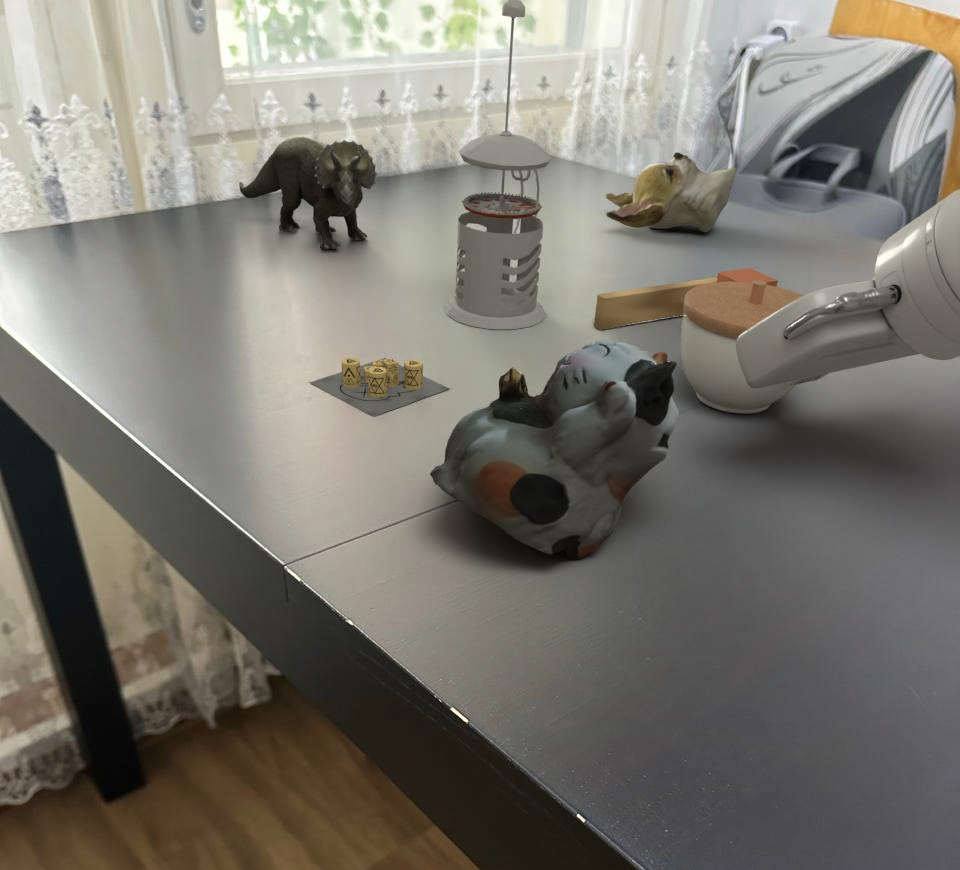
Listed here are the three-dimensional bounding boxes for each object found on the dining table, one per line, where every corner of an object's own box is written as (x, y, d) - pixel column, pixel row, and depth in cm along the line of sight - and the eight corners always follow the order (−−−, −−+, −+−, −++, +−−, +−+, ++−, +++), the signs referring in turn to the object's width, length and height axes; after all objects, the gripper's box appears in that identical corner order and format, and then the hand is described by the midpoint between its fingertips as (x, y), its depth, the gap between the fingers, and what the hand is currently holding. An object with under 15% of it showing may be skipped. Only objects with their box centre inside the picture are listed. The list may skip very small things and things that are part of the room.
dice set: (426, 386, 77) (426, 363, 76) (378, 403, 74) (377, 380, 73) (385, 366, 80) (385, 344, 78) (337, 382, 77) (336, 359, 76)
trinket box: (666, 366, 83) (686, 255, 77) (790, 378, 82) (820, 266, 76) (669, 419, 75) (692, 299, 69) (808, 433, 74) (842, 313, 68)
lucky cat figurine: (462, 448, 69) (567, 272, 63) (600, 541, 69) (718, 373, 63) (396, 489, 55) (522, 270, 49) (569, 606, 55) (715, 399, 49)
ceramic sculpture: (744, 162, 107) (610, 161, 108) (732, 243, 112) (604, 241, 113) (733, 143, 115) (608, 142, 116) (722, 219, 120) (603, 218, 122)
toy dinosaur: (234, 219, 111) (222, 110, 104) (295, 208, 115) (288, 104, 108) (346, 270, 98) (341, 151, 91) (409, 256, 103) (410, 141, 96)
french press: (426, 315, 89) (431, -4, 74) (479, 281, 98) (493, -12, 82) (521, 337, 86) (548, 9, 71) (568, 300, 95) (600, -1, 79)
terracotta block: (740, 308, 95) (750, 267, 93) (768, 321, 93) (778, 280, 90) (710, 313, 94) (718, 272, 91) (736, 327, 91) (746, 285, 89)
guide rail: (720, 305, 96) (726, 275, 94) (728, 309, 95) (734, 279, 93) (593, 326, 90) (597, 294, 88) (600, 330, 89) (604, 298, 87)
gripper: (845, 354, 55) (702, 438, 67) (1065, 309, 63) (901, 391, 76) (810, 251, 55) (674, 354, 68) (1033, 220, 63) (876, 317, 76)
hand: (796, 374), depth 72 cm, fingers closed, pressing on trinket box
